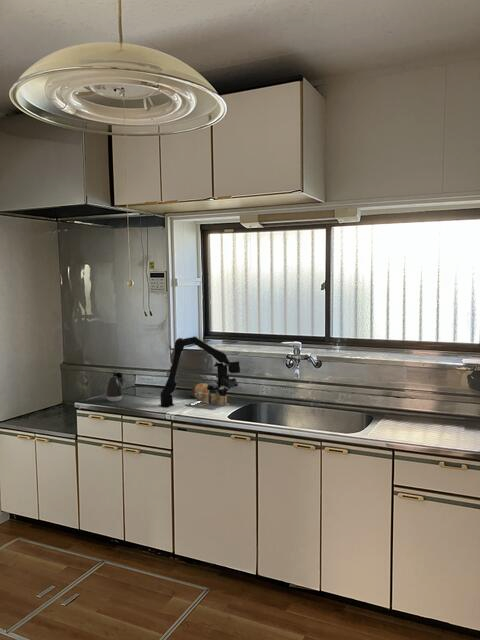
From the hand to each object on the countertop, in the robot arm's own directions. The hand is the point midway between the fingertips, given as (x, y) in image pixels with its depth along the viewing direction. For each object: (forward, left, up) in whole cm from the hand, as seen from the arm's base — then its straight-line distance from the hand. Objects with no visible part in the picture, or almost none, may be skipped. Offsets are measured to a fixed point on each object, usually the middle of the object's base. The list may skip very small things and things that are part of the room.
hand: (223, 400), depth 321 cm
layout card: (-7, -6, -3) cm, 10 cm away
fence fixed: (-12, -2, -2) cm, 13 cm away
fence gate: (-1, -3, -2) cm, 3 cm away
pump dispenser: (-62, -26, -3) cm, 67 cm away
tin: (-24, +10, -3) cm, 26 cm away
